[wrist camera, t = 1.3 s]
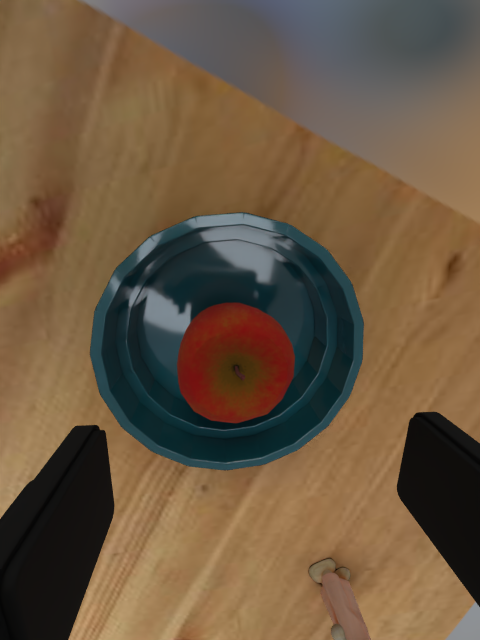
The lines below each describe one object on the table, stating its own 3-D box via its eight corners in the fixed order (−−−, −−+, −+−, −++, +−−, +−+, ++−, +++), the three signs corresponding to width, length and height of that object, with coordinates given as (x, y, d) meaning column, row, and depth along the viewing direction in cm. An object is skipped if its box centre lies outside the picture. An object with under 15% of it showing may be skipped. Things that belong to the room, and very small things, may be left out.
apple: (233, 387, 22) (245, 460, 14) (166, 340, 20) (142, 394, 13) (288, 325, 21) (330, 369, 14) (223, 270, 19) (231, 287, 12)
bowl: (83, 369, 20) (44, 409, 16) (185, 172, 18) (175, 147, 13) (260, 449, 24) (273, 501, 19) (368, 293, 21) (414, 308, 16)
